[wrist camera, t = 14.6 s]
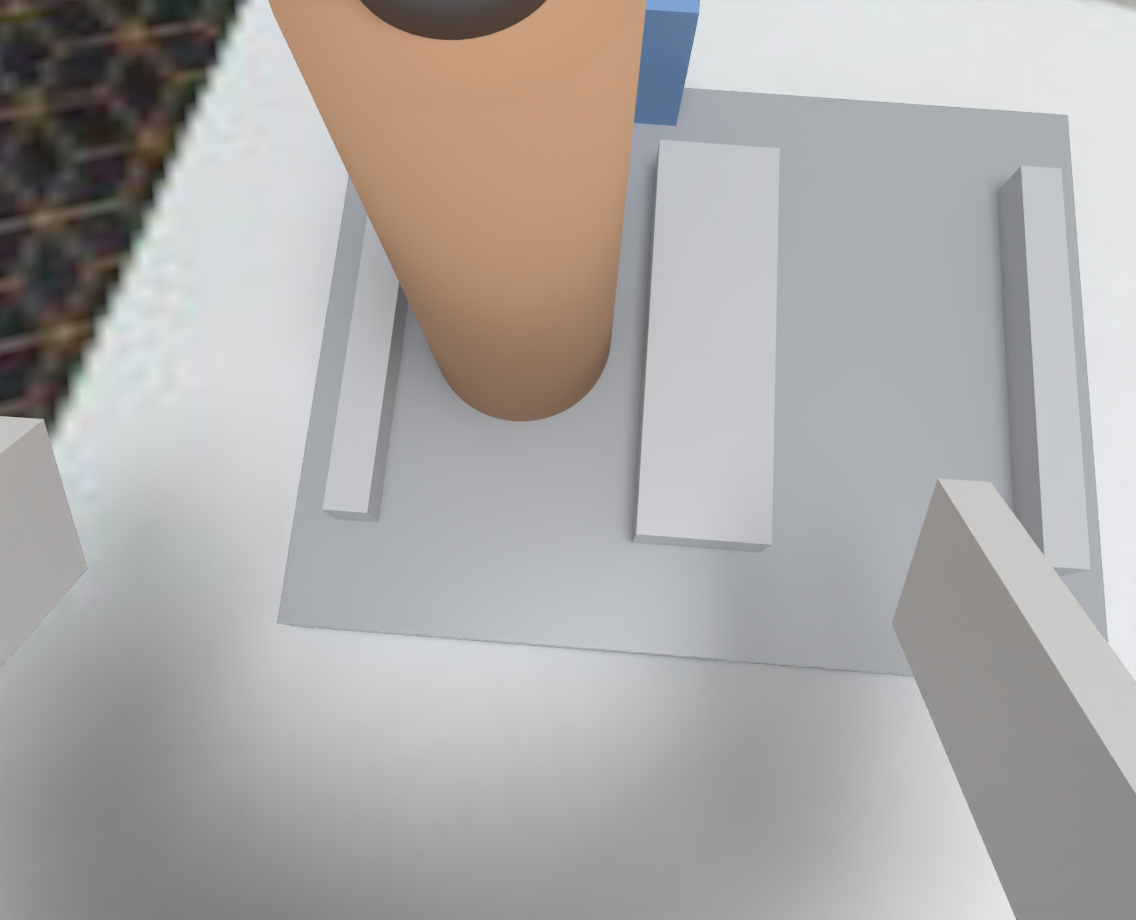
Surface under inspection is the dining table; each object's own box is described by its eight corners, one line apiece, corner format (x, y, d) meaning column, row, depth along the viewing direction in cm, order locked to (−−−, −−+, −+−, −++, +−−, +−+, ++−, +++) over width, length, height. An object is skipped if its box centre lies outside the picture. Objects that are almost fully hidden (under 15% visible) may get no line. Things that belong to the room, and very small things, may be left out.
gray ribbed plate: (1080, 689, 20) (1249, 693, 15) (293, 625, 21) (206, 609, 16) (1043, 142, 24) (1169, 1, 19) (375, 94, 24) (327, -57, 19)
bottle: (398, 326, 21) (140, -159, 9) (534, 223, 22) (476, -370, 9) (509, 457, 21) (402, 131, 8) (647, 345, 21) (750, -122, 9)
